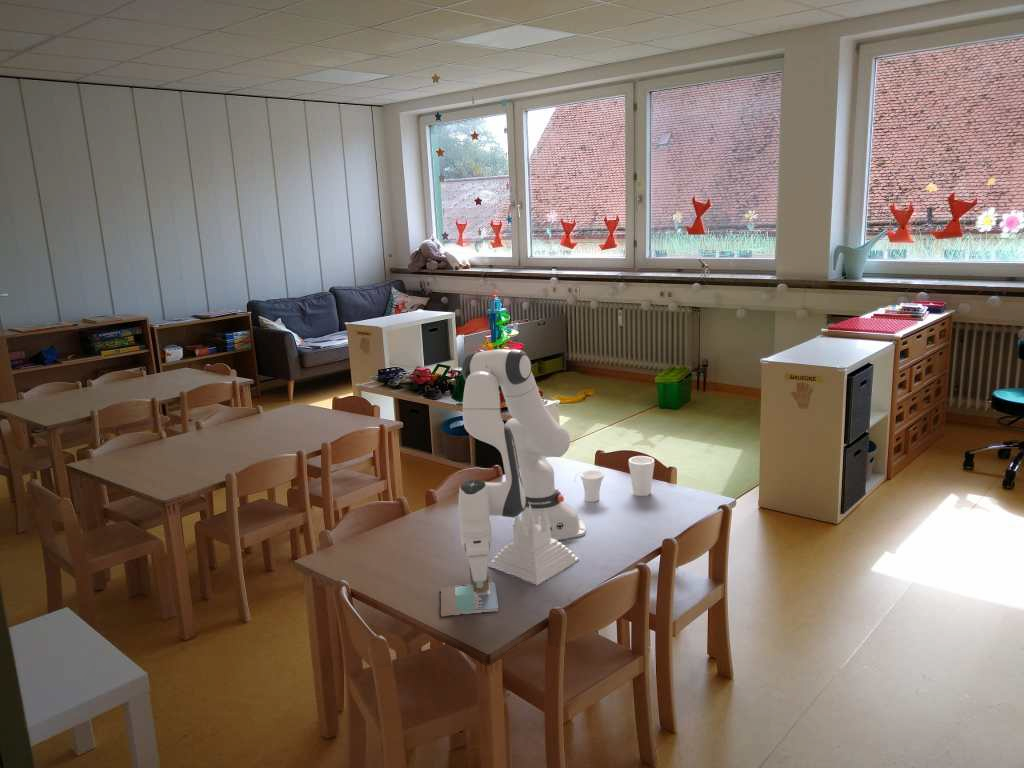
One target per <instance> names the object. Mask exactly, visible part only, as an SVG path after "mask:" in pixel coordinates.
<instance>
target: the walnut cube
mask: <svg viewBox="0 0 1024 768" xmlns="http://www.w3.org/2000/svg"><path fill="white" fill-rule="evenodd" d="M469 574H470V575H469V576H470V578H469V579H470V584H471V585H473V590H474V591H482V590H489V583H490V581H489V571H488V569H487V579H486V581H485V582H483V587H482V588H477V583H476V582H474V581H473V578H472V573H471V567H470V566H469Z"/></svg>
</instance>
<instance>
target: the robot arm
mask: <svg viewBox="0 0 1024 768" xmlns="http://www.w3.org/2000/svg"><path fill="white" fill-rule="evenodd" d="M461 373H462V374H461V375H462V377H463V379H464V381H465V384H464V389H463V390H464V391H463V395H462V396H463V397H462V422H463V426H464V429H465V430H466V432H467V433H468V434H469V435H470V436H471V437H473V438H475V439H477V440H478V441H481V442H483V443H487V444H489V445H490V446H493V447H495V448H496V449H497V450H498V452H499V453H500V454H501V458H502V463H503V470H504V474H505V476H504V477H505V481H503V482H501V481H500V482H498V481H496V482H495V481H492V482H491V481H484V480H482V479H479V478H471V479H466V480H464V481H463V482H462V483H461V484H460V485H459V489H458V517H459V518H460V525H459V532H460V533H459V534H460V544H461V546H462V547H463V548H464V551H465V555H466V556H467V558H468V562H469V568H470V567H471V573H472V578H473V581H474V582H476V583H477V588H482V587H483V582H485V581H486V579H487V570H488V564H489V563H488V559H489V556H488V555H490V550H491V549H490V548H491V544H492V543H493V534H492V523H491V520H490V516H492V517H494V516H496V517H497V516H498V517H499V516H500V517H505V518H506V517H507V518H512V519H513V518H514V519H515V517H516V516H518V517H519V516H520V515H521V518H520V521H521V524H522V526H524V525H526V518H527V514H528V511H529V504H530V506H531V511H533V515H534V518H535V524H537V525H540V526H541V523H542V519H543V515H544V508H545V510H546V515H548V520H549V522H550V531H551V538H552V539H555V540H557V541H561V540H567V539H572V538H578V537H583V536H584V535H585V534H586V532H587V527H586V525H585V522H584V521H583V520H582V519H581V518H579V515H578V513H577V511H576V510H575V508H574V507H573V506H571V505H569V504H568V503H567V502H565V497H564V495H563V494H562V493H561V492H560V491H559V490H558V489H556V487H555V470H554V468H553V466H552V464H551V463H549V461H548V460H547V459H546V457H547V458H560V457H563V456H564V455H565V454H566V453H567V451H568V450H569V447H570V445H571V436H570V433H569V431H568V430H567V429H566V428H564V427H563V426H562V425H561V424H559V422H557V420H556V419H555V417H554V416H553V415H552V414H551V413H550V411H549V410H548V409H547V407H546V405H545V404H544V401H543V399H542V397H541V394H540V392H539V388H538V385H537V383H536V379H535V376H534V374H533V372H532V362H531V358H530V356H529V355H528V354H527V353H526V352H525V351H524V350H521V349H515V348H512V349H503V348H502V349H500V348H499V349H497V348H496V349H490V350H484V351H474V352H470V353H468V354H467V355H466V356H465V357H464V359H463V361H462V363H461ZM499 388H500V389H501V392H502V396H503V398H504V401H505V404H506V407H507V409H508V412H509V414H510V415H511V417H512V418H509V419H508V420H507V421H506V422H505V423H504V420H503V417H502V414H501V397H500V389H499Z"/></svg>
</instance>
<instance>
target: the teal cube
mask: <svg viewBox="0 0 1024 768" xmlns="http://www.w3.org/2000/svg"><path fill="white" fill-rule="evenodd" d="M468 585H469V586H459V585H458V586H459V587H455V595H456V608H457V611H474V610H475V603H474V590H473V585H470V584H468Z"/></svg>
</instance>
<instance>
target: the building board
mask: <svg viewBox="0 0 1024 768" xmlns="http://www.w3.org/2000/svg"><path fill="white" fill-rule="evenodd" d="M474 592H476V594H475V595H477V594H478V595H479V596H478V597H480V598H481V599H482V600H479V603H480V602H482V604H478V605H479V606H480V605H481V606H482V607H478V608H479V609H475V610H488V609H499V603H498V595H497V588H496V582H494V581H492V582H489V590H482V591H474ZM476 601H477V600H476ZM484 607H485V608H484ZM480 608H481V609H480Z"/></svg>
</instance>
